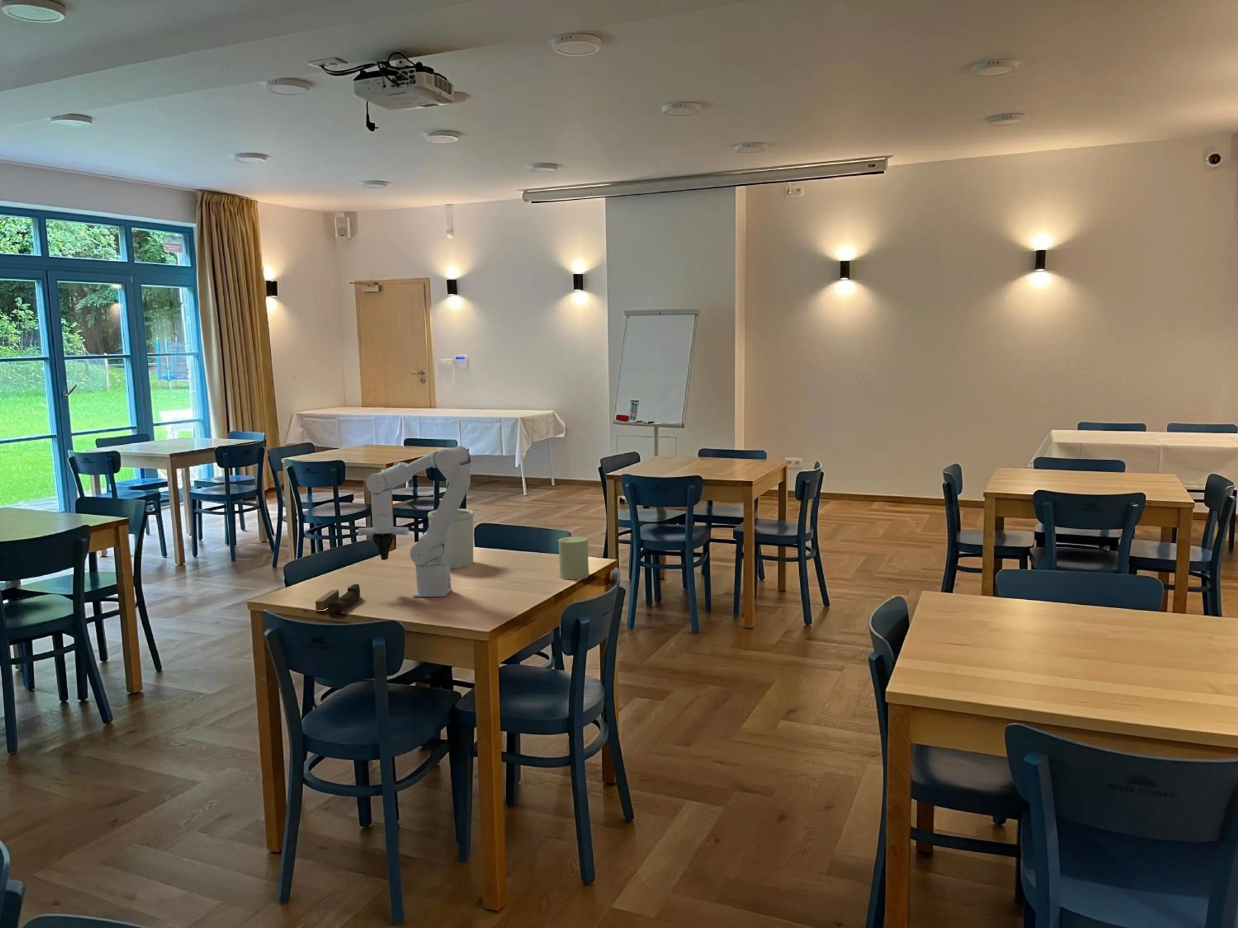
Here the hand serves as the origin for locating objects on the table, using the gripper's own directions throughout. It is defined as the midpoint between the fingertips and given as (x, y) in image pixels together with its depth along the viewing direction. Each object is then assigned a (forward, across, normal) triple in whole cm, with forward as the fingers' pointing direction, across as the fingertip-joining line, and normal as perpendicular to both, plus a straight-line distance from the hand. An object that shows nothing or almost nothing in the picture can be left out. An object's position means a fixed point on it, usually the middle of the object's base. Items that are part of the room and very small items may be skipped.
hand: (384, 559), depth 262 cm
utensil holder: (+10, +12, +33) cm, 36 cm away
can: (+10, +54, +15) cm, 57 cm away
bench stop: (+9, -12, -16) cm, 22 cm away
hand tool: (+10, -6, -16) cm, 20 cm away
